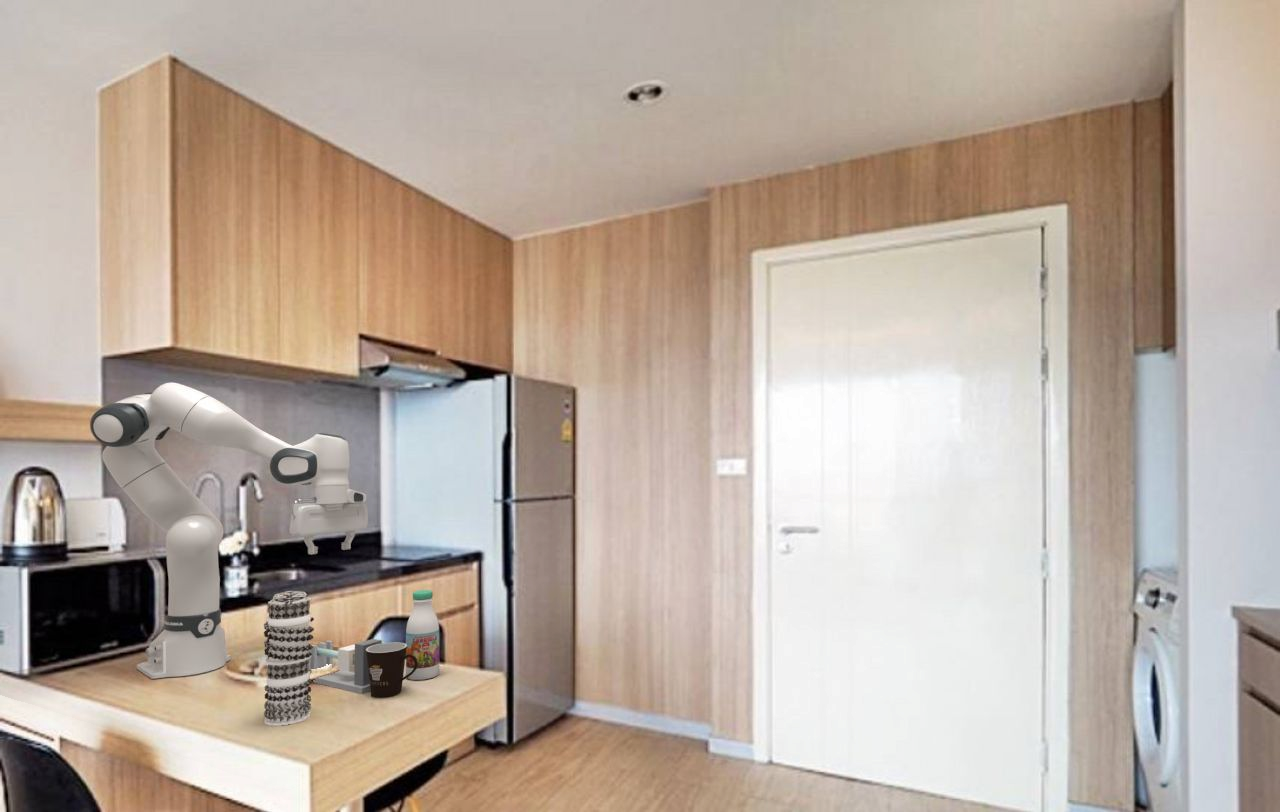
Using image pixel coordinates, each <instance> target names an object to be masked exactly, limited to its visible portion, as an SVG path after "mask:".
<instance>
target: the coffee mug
mask: <svg viewBox="0 0 1280 812" xmlns="http://www.w3.org/2000/svg"><path fill="white" fill-rule="evenodd" d="M406 649H407V645H406V643H404V642H398V641H397V642H396V641H394V642H392V641H391V642H382V644H376V645H373V646H370V647H368V648H367V649H366V655H367V664H368V673H369V682H370V691H369V692H370V696H371V697H372V698H375V699H387V698H393V697H395V696H399V695H400V694H401V693H402V690H403V681H405V680H406V679H408V677H409V676H410V675H412V674H413V673H414V672H415V670H416V669H417V666H418V662H417V659H416V657H415V656H413V655H410V654H409V655H406ZM407 657H410V658H412V659H413V660H414V662H415V667H414V669H413V670H412V672H410V673H409V674H408V675H406V674H405V676H404V673H405V666H406V658H407Z"/></svg>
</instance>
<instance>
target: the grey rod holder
mask: <svg viewBox="0 0 1280 812" xmlns="http://www.w3.org/2000/svg"><path fill="white" fill-rule="evenodd" d="M382 643H383V640H382V639H376V638H372V639H368V640H365V641H364V640H363V641H360V642H356V643H354V644H355V654H353V662H354V663H355V670H354V671H344V670H340V671H338V672H335V673H332V674H329V675H326V676H322V677H319V678H316V679H315V680H313V682H314V684H319V685H322V686H323V685H324V686H327V687H332V688H336V689H340V690H344V691H349V692H353V693H357V694H361V695H362V694H363V695H364V694H366V693H369V692H371V691H370V682H369V673H368V664H367V655H366V649H367V648H368V647H370V646H373V645H376V644H382ZM311 645H312V646H313V648H312V649H311V650H309V652H310V653H311V654H312V657H311V658H310V659H309V667H308V668H309V670H310V669H317V668H321V667H324V666H326V664H328V665H329V664H333V661H334V660H333V659H337V660H338V650H334V649H333V648H334V641H333V640H325V642H318V645H316V644H311ZM313 682H312V683H313Z"/></svg>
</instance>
